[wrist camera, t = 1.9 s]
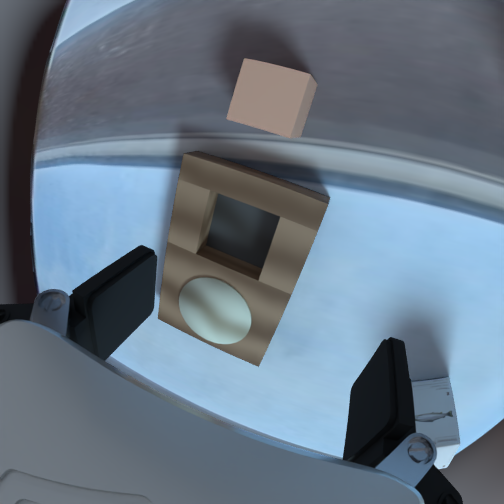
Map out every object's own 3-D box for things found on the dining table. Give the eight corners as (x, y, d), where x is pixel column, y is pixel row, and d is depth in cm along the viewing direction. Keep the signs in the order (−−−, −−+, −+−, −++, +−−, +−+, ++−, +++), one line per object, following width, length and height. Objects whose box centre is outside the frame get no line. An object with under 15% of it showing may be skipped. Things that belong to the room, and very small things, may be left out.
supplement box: (450, 374, 34) (463, 443, 23) (441, 405, 36) (447, 469, 25) (404, 380, 37) (407, 451, 25) (399, 410, 39) (398, 475, 28)
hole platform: (196, 150, 33) (182, 153, 30) (330, 197, 31) (328, 205, 28) (168, 307, 44) (156, 319, 41) (264, 352, 42) (257, 368, 39)
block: (262, 69, 27) (244, 58, 22) (317, 84, 26) (310, 74, 21) (247, 120, 30) (226, 119, 25) (300, 137, 29) (289, 138, 24)
